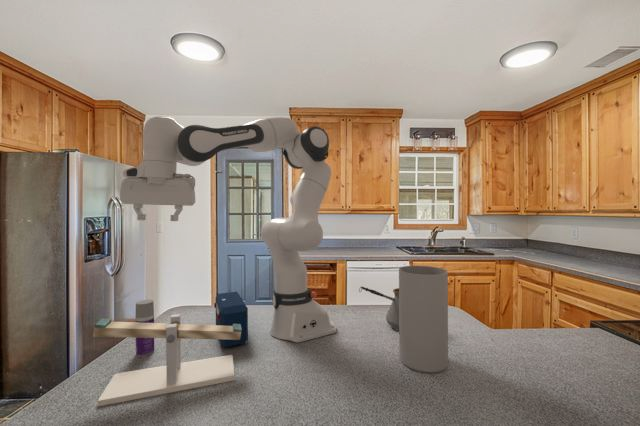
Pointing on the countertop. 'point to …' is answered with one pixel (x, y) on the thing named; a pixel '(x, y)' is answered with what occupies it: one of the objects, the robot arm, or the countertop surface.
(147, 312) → the container
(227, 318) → the radio
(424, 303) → the cylinder vase
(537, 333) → the countertop surface
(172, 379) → the stand
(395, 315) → the coffee pot
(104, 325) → the beam
